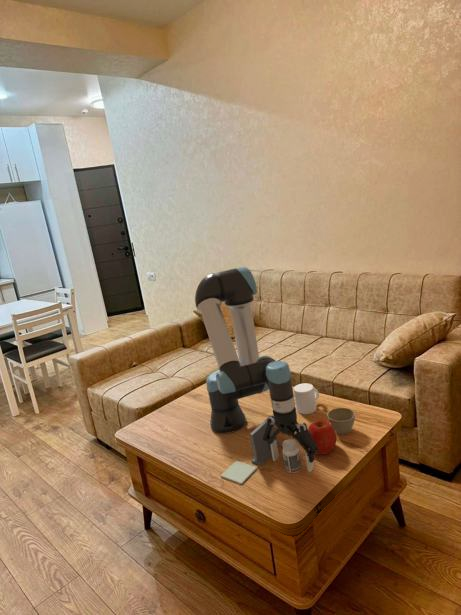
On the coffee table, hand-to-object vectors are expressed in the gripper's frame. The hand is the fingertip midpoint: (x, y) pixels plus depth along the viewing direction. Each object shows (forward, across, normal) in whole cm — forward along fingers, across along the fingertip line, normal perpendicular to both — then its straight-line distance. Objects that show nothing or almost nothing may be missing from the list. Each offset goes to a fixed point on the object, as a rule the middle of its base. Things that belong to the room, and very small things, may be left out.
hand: (292, 464), depth 141 cm
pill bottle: (+2, 0, 0) cm, 2 cm away
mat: (+2, -16, -10) cm, 19 cm away
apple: (+2, +4, +14) cm, 15 cm away
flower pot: (+2, +6, +27) cm, 28 cm away
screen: (+2, -13, +3) cm, 13 cm away
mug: (+2, -14, +38) cm, 41 cm away
